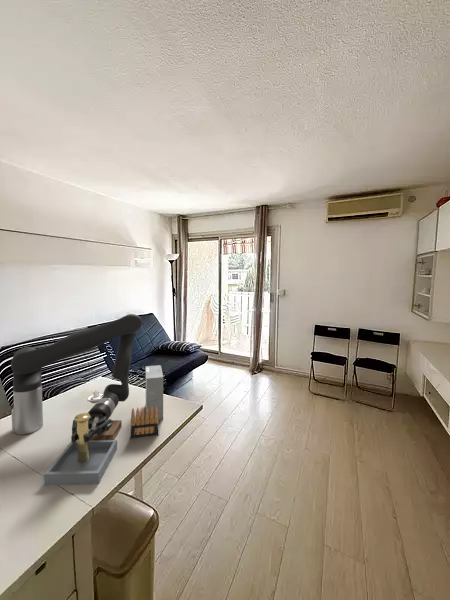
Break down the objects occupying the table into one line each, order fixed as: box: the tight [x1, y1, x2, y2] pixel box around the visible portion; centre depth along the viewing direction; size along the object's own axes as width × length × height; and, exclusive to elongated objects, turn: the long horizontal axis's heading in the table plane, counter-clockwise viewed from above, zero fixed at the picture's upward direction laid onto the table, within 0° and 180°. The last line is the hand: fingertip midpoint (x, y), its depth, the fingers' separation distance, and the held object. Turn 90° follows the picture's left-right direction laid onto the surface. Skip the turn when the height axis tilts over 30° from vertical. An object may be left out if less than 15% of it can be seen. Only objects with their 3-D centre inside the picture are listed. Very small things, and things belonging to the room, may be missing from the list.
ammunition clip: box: [129, 406, 159, 439], centre depth 103 cm, size 11×2×12 cm, turn 104°
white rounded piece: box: [87, 389, 104, 402], centre depth 133 cm, size 9×8×4 cm
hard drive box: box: [145, 364, 164, 421], centre depth 120 cm, size 16×8×20 cm, turn 18°
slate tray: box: [43, 439, 118, 486], centre depth 86 cm, size 16×16×4 cm
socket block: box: [91, 419, 123, 440], centre depth 103 cm, size 10×10×3 cm
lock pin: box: [74, 412, 90, 463], centre depth 85 cm, size 4×4×15 cm
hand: (79, 439), depth 82 cm, fingers closed on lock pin, 3 cm apart
